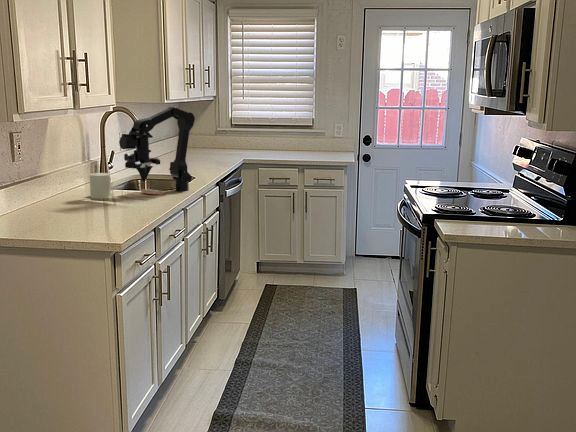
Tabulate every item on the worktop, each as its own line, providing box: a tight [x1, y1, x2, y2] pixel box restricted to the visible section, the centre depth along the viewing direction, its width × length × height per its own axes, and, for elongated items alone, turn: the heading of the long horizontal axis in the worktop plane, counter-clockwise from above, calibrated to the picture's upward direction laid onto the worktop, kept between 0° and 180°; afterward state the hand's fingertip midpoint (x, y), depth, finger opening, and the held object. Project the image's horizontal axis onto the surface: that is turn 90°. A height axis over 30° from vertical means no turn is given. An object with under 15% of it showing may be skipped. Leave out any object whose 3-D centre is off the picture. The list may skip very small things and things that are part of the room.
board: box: [115, 191, 167, 202], centre depth 270 cm, size 15×18×1 cm
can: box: [88, 172, 112, 202], centre depth 266 cm, size 9×9×12 cm
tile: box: [140, 188, 167, 195], centre depth 278 cm, size 2×8×9 cm
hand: (143, 181), depth 270 cm, fingers closed
